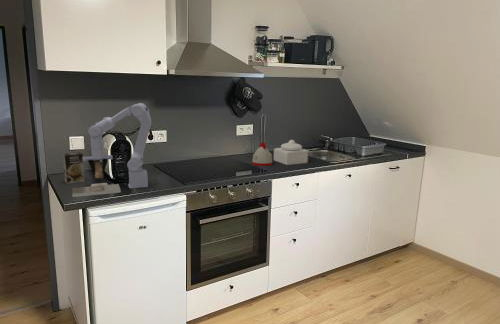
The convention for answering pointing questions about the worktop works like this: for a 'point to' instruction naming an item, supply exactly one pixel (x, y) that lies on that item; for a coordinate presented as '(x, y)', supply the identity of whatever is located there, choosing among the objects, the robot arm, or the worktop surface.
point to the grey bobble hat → (262, 156)
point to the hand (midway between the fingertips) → (98, 173)
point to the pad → (99, 184)
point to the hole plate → (96, 190)
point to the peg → (98, 169)
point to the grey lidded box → (291, 154)
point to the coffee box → (73, 167)
